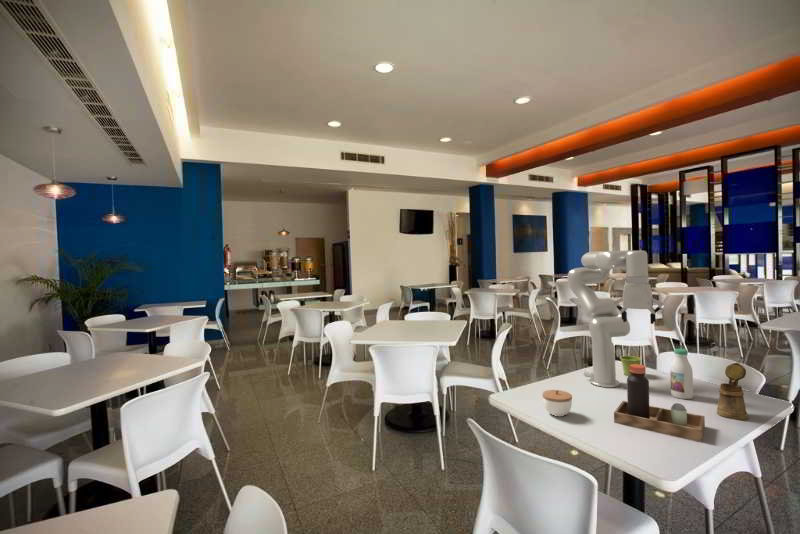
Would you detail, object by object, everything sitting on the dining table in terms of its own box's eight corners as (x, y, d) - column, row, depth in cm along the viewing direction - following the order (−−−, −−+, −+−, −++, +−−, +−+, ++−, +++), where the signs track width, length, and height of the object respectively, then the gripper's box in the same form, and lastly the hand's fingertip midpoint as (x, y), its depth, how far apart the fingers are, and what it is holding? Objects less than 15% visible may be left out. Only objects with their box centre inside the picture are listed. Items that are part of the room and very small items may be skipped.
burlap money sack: (754, 412, 146) (752, 364, 145) (744, 422, 138) (743, 372, 137) (724, 405, 153) (722, 360, 152) (713, 415, 145) (712, 367, 144)
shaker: (670, 429, 133) (669, 404, 133) (672, 425, 136) (671, 400, 136) (686, 433, 130) (685, 407, 130) (687, 428, 133) (687, 403, 133)
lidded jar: (538, 409, 156) (537, 386, 156) (563, 407, 157) (563, 384, 157) (550, 420, 146) (550, 395, 146) (578, 418, 147) (577, 393, 146)
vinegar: (639, 415, 145) (638, 362, 144) (654, 423, 138) (653, 367, 138) (623, 417, 144) (622, 364, 143) (637, 425, 137) (636, 369, 137)
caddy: (614, 424, 140) (613, 412, 140) (623, 412, 150) (622, 400, 150) (701, 444, 123) (701, 430, 123) (704, 428, 134) (704, 416, 134)
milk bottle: (685, 393, 168) (684, 347, 167) (697, 399, 160) (696, 351, 159) (667, 393, 168) (665, 347, 168) (678, 399, 161) (676, 352, 160)
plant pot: (618, 375, 194) (617, 358, 194) (622, 371, 202) (621, 354, 201) (640, 379, 188) (639, 361, 188) (643, 374, 196) (642, 357, 195)
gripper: (611, 281, 161) (612, 322, 161) (661, 281, 149) (662, 325, 149) (615, 280, 166) (617, 319, 167) (664, 280, 155) (665, 322, 155)
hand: (638, 322), depth 158 cm, fingers open, 9 cm apart
